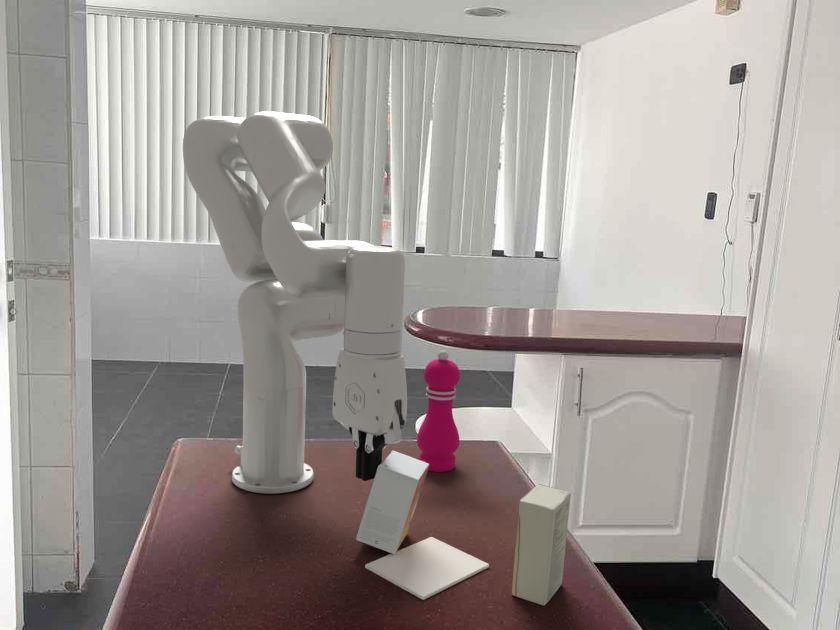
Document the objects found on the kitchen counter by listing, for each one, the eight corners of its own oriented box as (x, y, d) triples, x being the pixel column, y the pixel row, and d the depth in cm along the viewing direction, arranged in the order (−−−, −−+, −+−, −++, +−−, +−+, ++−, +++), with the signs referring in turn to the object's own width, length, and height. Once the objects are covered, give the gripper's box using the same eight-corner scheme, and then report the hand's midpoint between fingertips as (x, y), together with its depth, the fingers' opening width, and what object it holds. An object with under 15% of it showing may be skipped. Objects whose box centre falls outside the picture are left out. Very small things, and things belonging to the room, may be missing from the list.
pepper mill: (410, 459, 136) (416, 346, 133) (449, 456, 139) (456, 345, 135) (422, 474, 130) (429, 355, 126) (464, 471, 132) (471, 354, 128)
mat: (365, 567, 98) (365, 564, 98) (431, 539, 107) (431, 536, 107) (423, 600, 91) (423, 596, 91) (488, 567, 100) (489, 564, 100)
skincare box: (529, 574, 98) (537, 482, 96) (563, 585, 96) (572, 490, 94) (510, 596, 93) (517, 499, 91) (545, 608, 91) (554, 508, 89)
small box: (394, 556, 100) (419, 480, 99) (354, 540, 101) (377, 465, 100) (408, 533, 108) (431, 463, 106) (370, 519, 109) (392, 448, 107)
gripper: (313, 335, 105) (311, 468, 108) (391, 355, 94) (386, 501, 97) (356, 330, 110) (352, 456, 113) (434, 348, 100) (428, 486, 103)
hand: (368, 476), depth 105 cm, fingers closed
